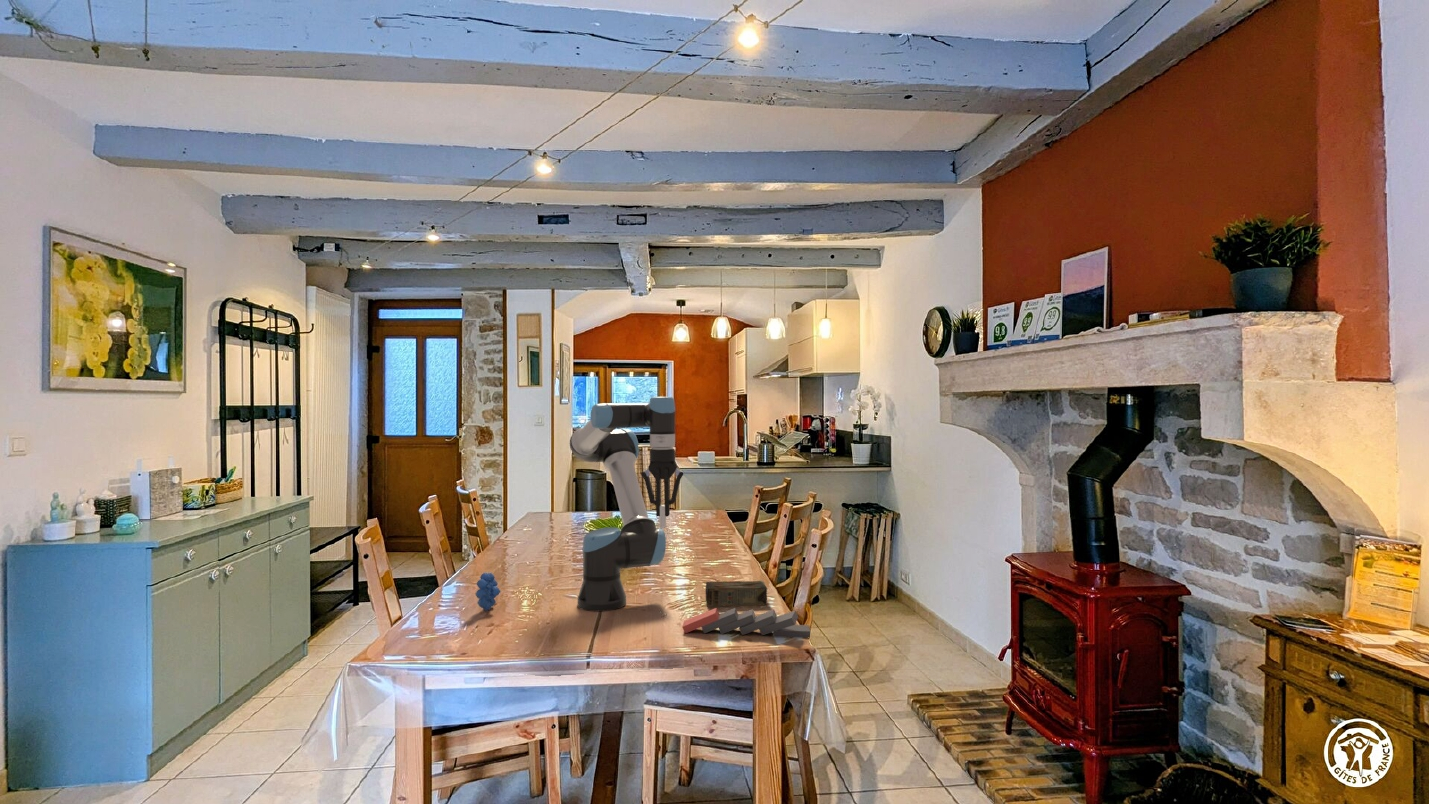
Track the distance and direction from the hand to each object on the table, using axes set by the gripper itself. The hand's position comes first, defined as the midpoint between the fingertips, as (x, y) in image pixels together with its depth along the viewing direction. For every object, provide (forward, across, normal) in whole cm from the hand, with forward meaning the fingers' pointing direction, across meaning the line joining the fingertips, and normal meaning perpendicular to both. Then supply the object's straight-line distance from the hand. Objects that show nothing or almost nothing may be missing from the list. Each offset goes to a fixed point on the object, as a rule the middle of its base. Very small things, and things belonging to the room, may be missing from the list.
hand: (663, 527), depth 205 cm
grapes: (+27, -54, +2) cm, 60 cm away
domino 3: (+25, +24, -14) cm, 37 cm away
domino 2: (+26, +18, -13) cm, 34 cm away
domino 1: (+25, +13, -13) cm, 31 cm away
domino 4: (+25, +30, -14) cm, 41 cm away
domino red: (+26, +8, -13) cm, 30 cm away
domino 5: (+26, +32, -14) cm, 44 cm away
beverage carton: (+27, +21, +14) cm, 37 cm away
